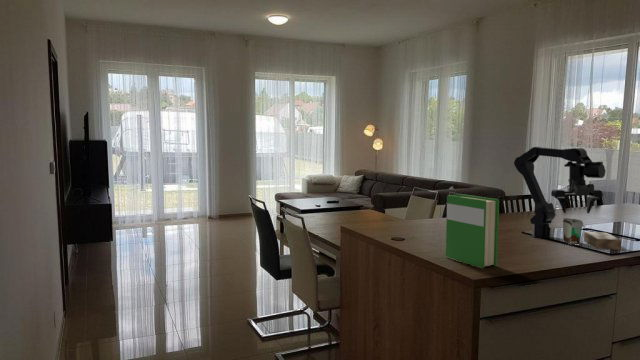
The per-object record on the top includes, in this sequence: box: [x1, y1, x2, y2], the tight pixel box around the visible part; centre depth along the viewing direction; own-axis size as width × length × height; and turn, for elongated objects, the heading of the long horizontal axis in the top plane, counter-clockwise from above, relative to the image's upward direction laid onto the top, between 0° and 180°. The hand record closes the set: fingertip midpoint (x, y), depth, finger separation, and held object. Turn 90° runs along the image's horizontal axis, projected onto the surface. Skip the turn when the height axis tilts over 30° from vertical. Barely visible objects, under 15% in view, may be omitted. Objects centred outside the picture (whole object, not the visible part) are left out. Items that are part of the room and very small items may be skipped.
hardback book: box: [445, 194, 500, 269], centre depth 165 cm, size 18×7×24 cm, turn 28°
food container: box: [562, 217, 585, 246], centre depth 196 cm, size 12×6×10 cm, turn 168°
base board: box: [583, 231, 622, 251], centre depth 192 cm, size 9×15×4 cm, turn 167°
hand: (576, 213), depth 195 cm, fingers open, 9 cm apart
